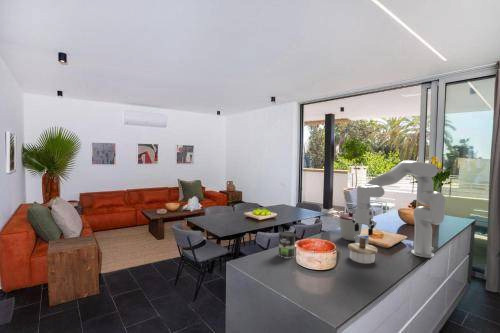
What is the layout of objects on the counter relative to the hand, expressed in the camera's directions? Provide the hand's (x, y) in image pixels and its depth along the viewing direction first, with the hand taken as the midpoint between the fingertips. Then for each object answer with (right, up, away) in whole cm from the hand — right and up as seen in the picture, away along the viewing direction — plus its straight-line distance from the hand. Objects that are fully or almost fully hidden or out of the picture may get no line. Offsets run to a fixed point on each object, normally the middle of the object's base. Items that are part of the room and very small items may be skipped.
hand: (363, 232), depth 162 cm
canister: (+8, -15, +41) cm, 44 cm away
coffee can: (-47, -16, +5) cm, 50 cm away
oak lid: (-1, -10, 0) cm, 10 cm away
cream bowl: (-1, -16, 0) cm, 16 cm away
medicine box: (+8, -16, +22) cm, 28 cm away
